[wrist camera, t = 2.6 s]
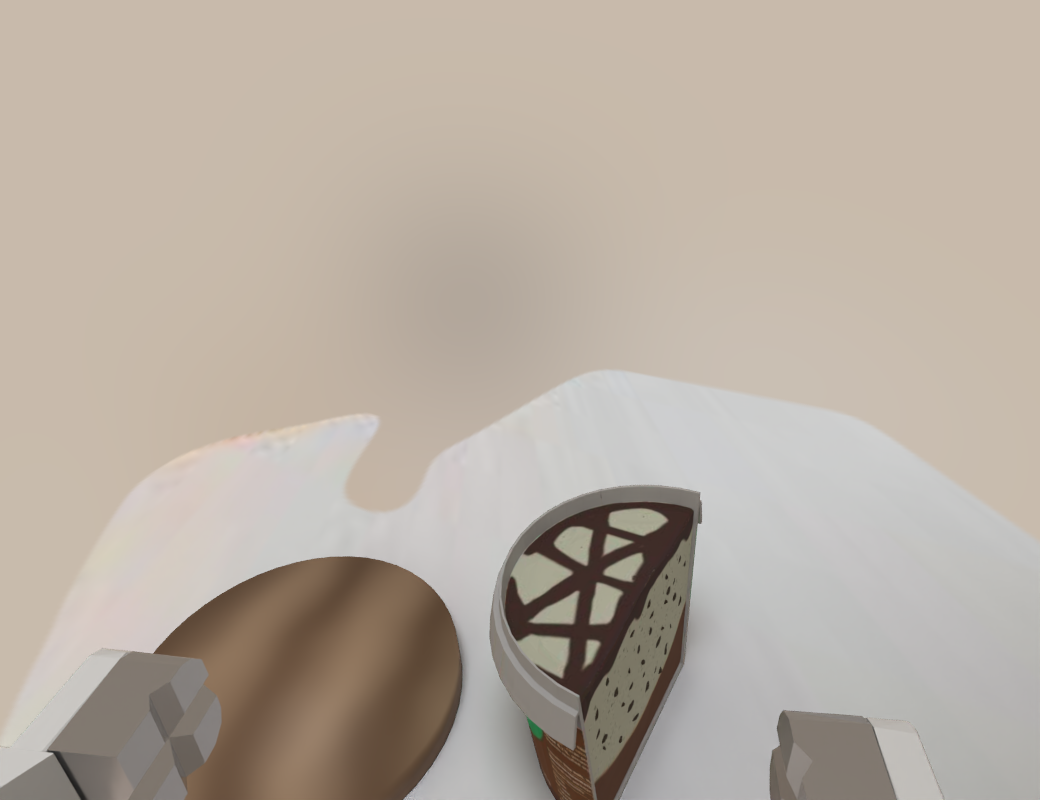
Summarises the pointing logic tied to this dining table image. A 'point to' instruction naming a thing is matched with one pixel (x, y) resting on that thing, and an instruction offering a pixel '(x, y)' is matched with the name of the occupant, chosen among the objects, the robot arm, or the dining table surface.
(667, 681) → the food container
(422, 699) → the walnut trivet
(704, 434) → the dining table surface
